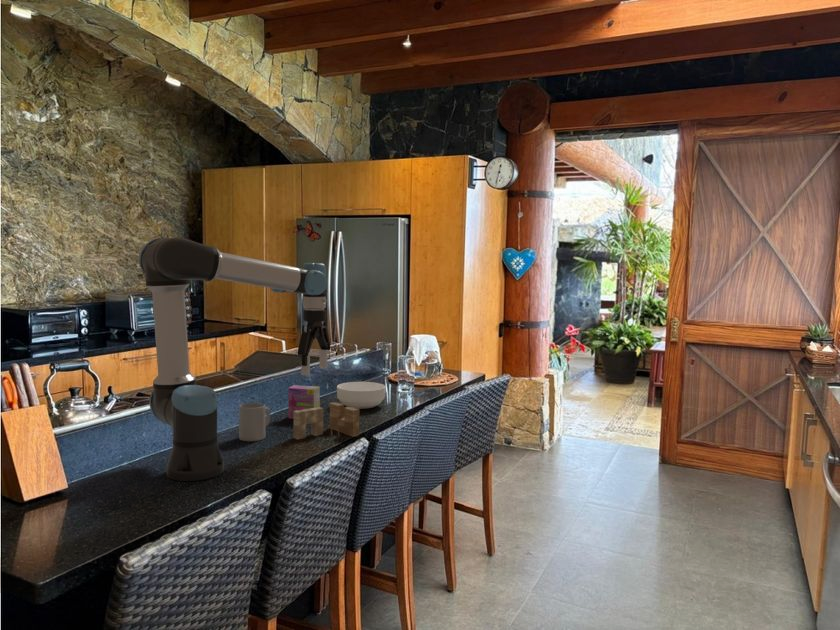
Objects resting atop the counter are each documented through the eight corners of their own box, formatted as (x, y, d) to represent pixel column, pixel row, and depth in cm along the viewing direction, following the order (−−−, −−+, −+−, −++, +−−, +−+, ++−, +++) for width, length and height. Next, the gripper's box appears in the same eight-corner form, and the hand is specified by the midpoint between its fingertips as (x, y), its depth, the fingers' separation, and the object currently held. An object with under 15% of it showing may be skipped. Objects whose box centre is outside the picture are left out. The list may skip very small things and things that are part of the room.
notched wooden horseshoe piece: (297, 439, 212) (297, 412, 211) (293, 437, 214) (293, 411, 213) (322, 434, 218) (323, 408, 218) (318, 432, 220) (319, 407, 219)
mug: (252, 443, 207) (251, 409, 206) (233, 438, 211) (233, 405, 210) (278, 434, 217) (278, 402, 216) (260, 430, 221) (260, 399, 220)
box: (288, 418, 239) (288, 387, 238) (294, 415, 244) (294, 384, 243) (314, 420, 236) (314, 389, 235) (320, 417, 242) (320, 386, 241)
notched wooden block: (353, 436, 216) (353, 410, 215) (329, 428, 226) (329, 403, 226) (359, 435, 218) (359, 409, 217) (335, 427, 228) (335, 402, 227)
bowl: (366, 414, 247) (366, 393, 246) (326, 407, 257) (326, 387, 256) (394, 405, 264) (394, 385, 263) (356, 399, 274) (356, 379, 273)
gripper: (307, 312, 202) (308, 379, 203) (340, 306, 225) (340, 366, 227) (286, 311, 204) (286, 377, 206) (320, 306, 227) (320, 365, 229)
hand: (314, 371), depth 216 cm, fingers open, 13 cm apart
